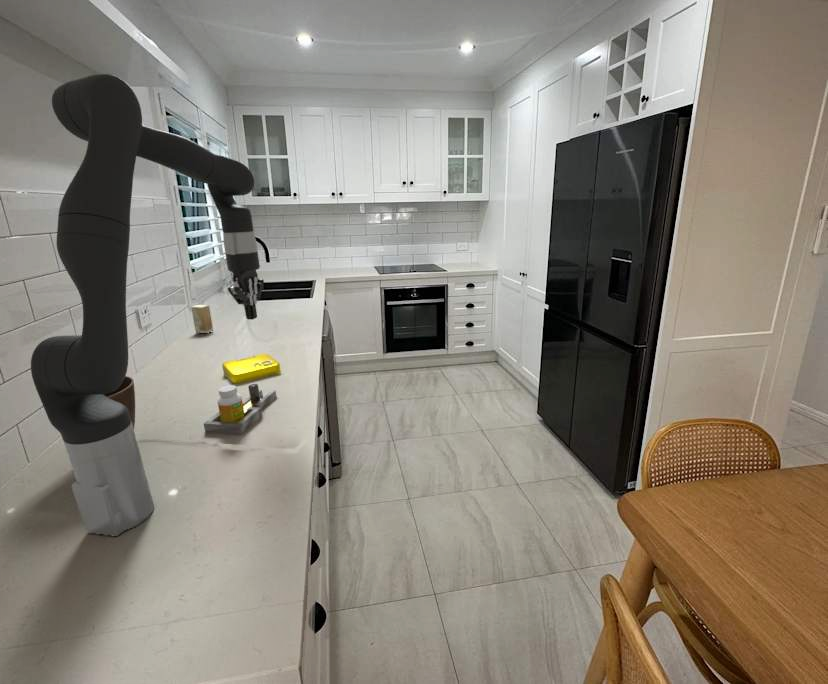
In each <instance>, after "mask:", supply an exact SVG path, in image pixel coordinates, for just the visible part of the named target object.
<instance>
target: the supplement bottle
mask: <svg viewBox="0 0 828 684" xmlns="http://www.w3.org/2000/svg"><path fill="white" fill-rule="evenodd" d="M218 395H219V397H218V399H217V405H218V406H217V407H218V412H220V417H221V422H227V423H238V422H240V421H241V420H242V419H243V418H244V417H245V414H244V408H243V403H242V402H243V398H242V397H243V396H242V395H241V394H240V393H238V388H237V386H236V385H234V384H229V385H228V384H227V385H223V386H221V387H220V388H218Z"/></svg>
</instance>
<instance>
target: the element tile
mask: <svg viewBox="0 0 828 684" xmlns="http://www.w3.org/2000/svg"><path fill="white" fill-rule="evenodd" d="M221 366H222V371H223V376H224V378H226V379H228V380H229V381H230V382H231V383H232V384H240V383H241V384H242V383H247V382H250V381H254V380H258V379H262V378H265V377H269V376H273V375H282V374H281V373H282V371H281V364H280V362H279V361H277V360H276V359H275V358H273V357H272V356H271V355H269V354H268V353H264V352H263V353H258V354H256V355H255V354H254V355H250V356H246V357H242V358H237V359H233V360H228V361H224V362H222V364H221Z"/></svg>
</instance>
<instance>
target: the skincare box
mask: <svg viewBox="0 0 828 684" xmlns="http://www.w3.org/2000/svg"><path fill="white" fill-rule="evenodd" d="M190 309H191V313H192V319H193V324H194V331H195V334H199V333H208V332H211V331H213V332H214V328H213V327H214V326H213V321H212V313H211V309H210V305H208V304H195V305H192V306H191V308H190ZM211 333H212V332H211ZM208 334H209V333H208Z"/></svg>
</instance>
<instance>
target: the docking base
mask: <svg viewBox="0 0 828 684" xmlns="http://www.w3.org/2000/svg"><path fill="white" fill-rule="evenodd" d="M259 395H260V399H261V400H260V401H259V402H258V403H256V404H255V407H249V408H248V409H247V412H248V415H247V416H246V417H244V418H243V419H242V420H241V421H240V422H238V423H227V422H221V417H220V412H219V411H218V412H217V413H216V414H214V415H213V416H212V417H210V418H209V419H207V420H206V421H205V422H204V423H203V429H204V433H209V434H210V433H211V434H223V435H234V436H235V435H237V436H238V435H239V436H241V435H243V434H244V433H245V432H246V431H247V430H248V429H249V428H250V427H252V426H253V425H254V424H255V423H256V422H257V421H258V420H260V419H261V418H262V417H263V413H262V410H263V409H264V408H265V407H266V406H267V405H269V404H270V403H272V401H273V400H275V398H277V391H276V390H271V391H269V393H267V394H266V395H264V396H263V389H259ZM262 397H263V398H262ZM250 401H251V400H250V396H249V397H247V398H246V399H245V400H242V403H243V406H244V405H246V404H247V403H248V402H250Z"/></svg>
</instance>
